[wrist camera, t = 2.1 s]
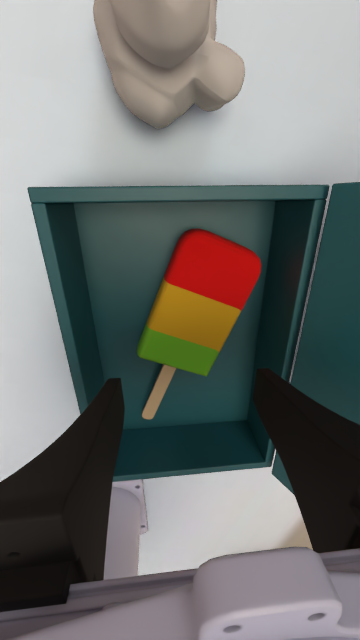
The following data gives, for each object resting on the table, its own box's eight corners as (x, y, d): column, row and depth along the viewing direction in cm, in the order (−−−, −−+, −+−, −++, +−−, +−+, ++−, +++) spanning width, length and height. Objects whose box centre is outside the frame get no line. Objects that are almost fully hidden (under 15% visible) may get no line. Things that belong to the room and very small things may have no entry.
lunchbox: (107, 430, 23) (96, 484, 18) (64, 192, 15) (26, 187, 10) (250, 419, 24) (271, 467, 19) (282, 189, 16) (330, 184, 11)
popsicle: (260, 253, 17) (272, 258, 15) (176, 416, 22) (178, 434, 20) (183, 220, 15) (187, 222, 14) (114, 402, 21) (111, 419, 19)
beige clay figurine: (127, -40, 11) (78, -481, 4) (248, 56, 13) (367, -133, 6) (88, 97, 13) (5, -37, 6) (199, 165, 15) (241, 127, 8)
